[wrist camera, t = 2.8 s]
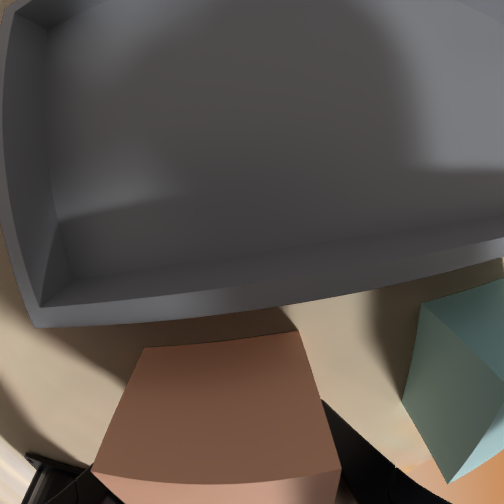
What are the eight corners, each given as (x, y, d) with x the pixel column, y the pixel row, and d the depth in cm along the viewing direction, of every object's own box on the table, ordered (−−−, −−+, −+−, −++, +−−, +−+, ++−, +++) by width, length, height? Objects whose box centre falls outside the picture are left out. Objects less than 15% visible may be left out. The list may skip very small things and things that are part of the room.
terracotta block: (185, 438, 9) (170, 537, 5) (144, 347, 8) (90, 471, 3) (304, 427, 9) (326, 530, 5) (298, 330, 8) (341, 468, 3)
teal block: (400, 400, 9) (447, 484, 5) (419, 302, 8) (510, 388, 3) (479, 367, 9) (531, 426, 5) (503, 276, 8) (582, 326, 3)
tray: (74, 291, 7) (34, 328, 5) (45, 30, 5) (5, 8, 3) (546, 217, 7) (581, 229, 5) (518, 31, 5) (549, 23, 2)
